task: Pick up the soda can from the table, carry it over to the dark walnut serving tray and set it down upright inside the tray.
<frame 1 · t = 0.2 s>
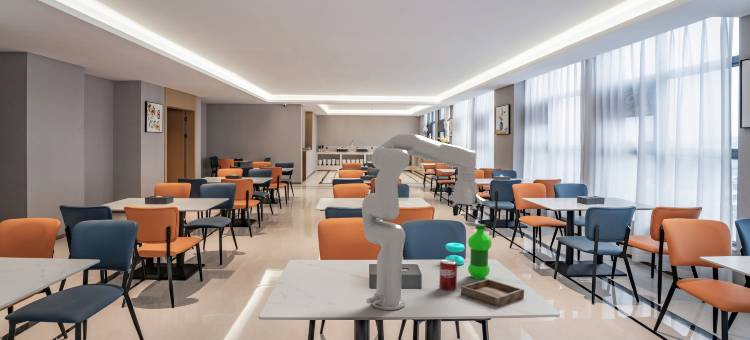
hand: (465, 216, 202), 30 cm above the table, tool pointing down, fingers open, 9 cm apart
soda can: (447, 289, 196), on the table
plastic bottle: (478, 278, 214), on the table
donuts: (454, 263, 240), on the table
walnut tray: (492, 296, 188), on the table
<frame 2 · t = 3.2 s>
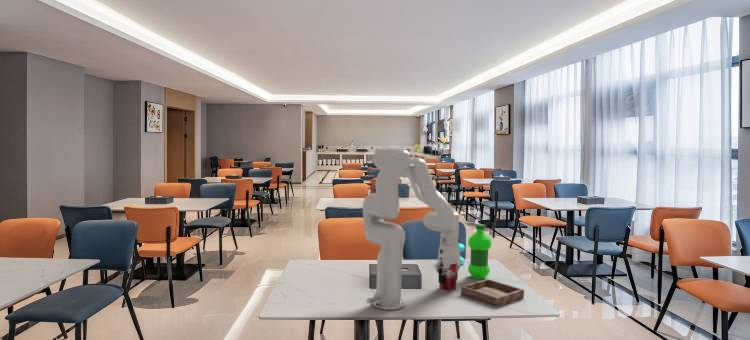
hand: (448, 281, 196), 3 cm above the table, tool pointing down, fingers closed on soda can, 7 cm apart
soda can: (447, 289, 196), on the table, touching gripper
everything else where it was.
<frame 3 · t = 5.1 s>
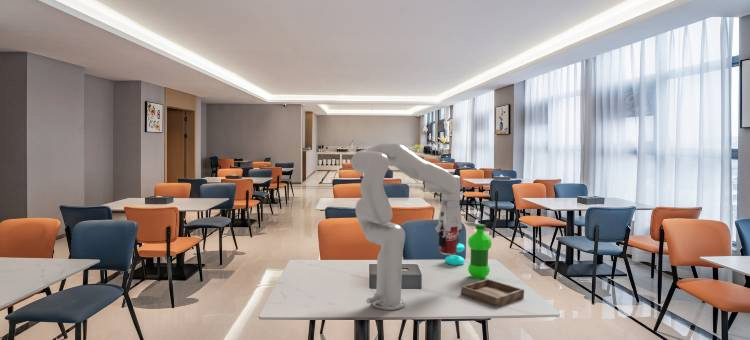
hand: (448, 245, 195), 19 cm above the table, tool pointing down, fingers closed on soda can, 7 cm apart
soda can: (447, 253, 195), point 16 cm above the table, touching gripper
everything else where it was.
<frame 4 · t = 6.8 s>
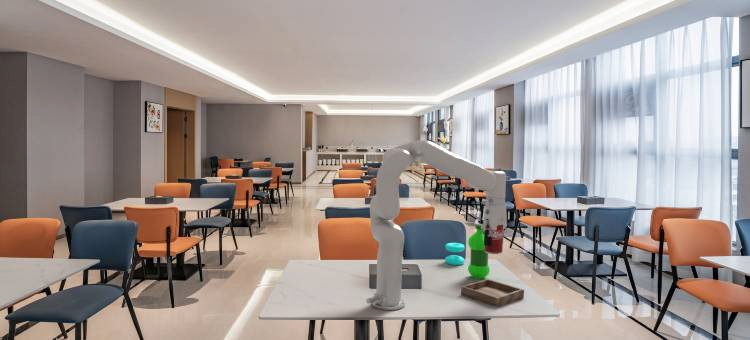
hand: (493, 244, 187), 22 cm above the table, tool pointing down, fingers closed on soda can, 7 cm apart
soda can: (493, 252, 187), point 18 cm above the table, touching gripper
everything else where it was.
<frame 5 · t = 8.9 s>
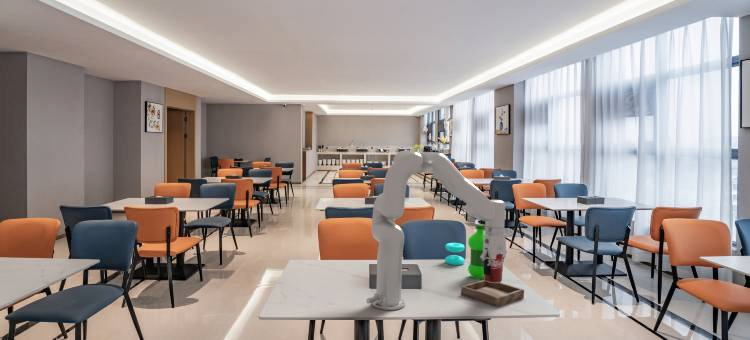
hand: (493, 272, 188), 10 cm above the table, tool pointing down, fingers closed on soda can, 7 cm apart
soda can: (492, 281, 188), point 6 cm above the table, touching gripper
everything else where it was.
when the fingers open (6 cm above the table, at t = 10.8 s): soda can drops 1 cm, resting on walnut tray.
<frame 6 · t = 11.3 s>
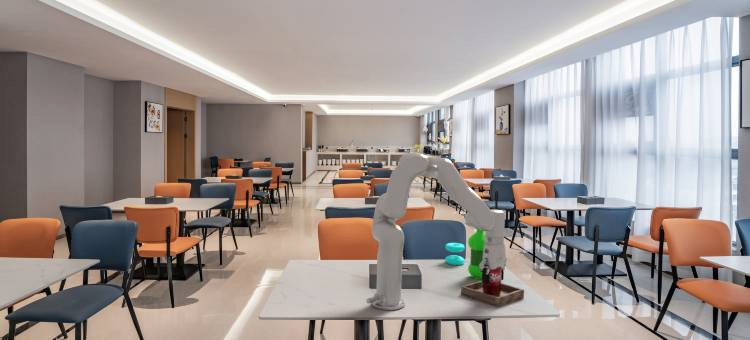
hand: (492, 281, 188), 6 cm above the table, tool pointing down, fingers open, 9 cm apart
soda can: (491, 294, 188), point 1 cm above the table, touching walnut tray
everything else where it was.
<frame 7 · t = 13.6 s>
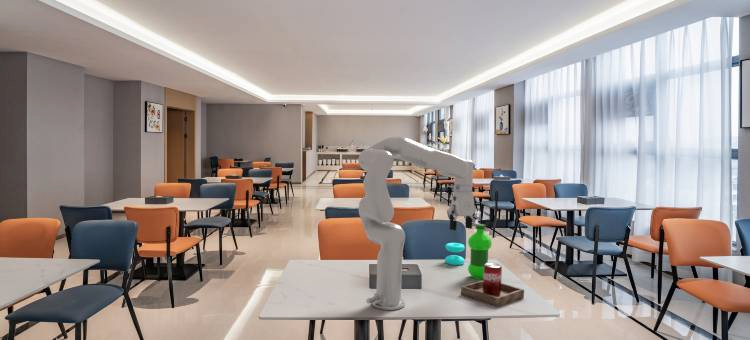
hand: (460, 229, 194), 26 cm above the table, tool pointing down, fingers open, 9 cm apart
nothing on the table moved.
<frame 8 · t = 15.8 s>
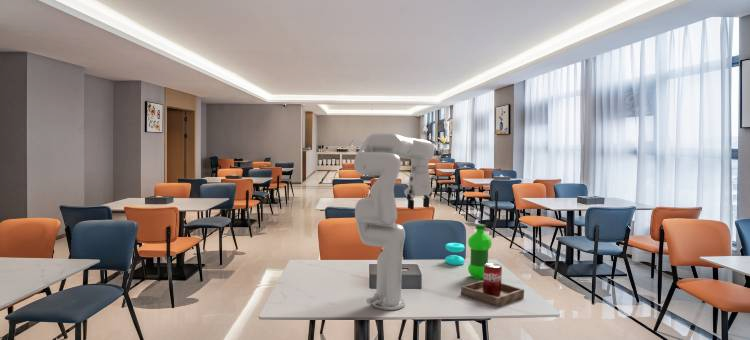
hand: (418, 208, 205), 33 cm above the table, tool pointing down, fingers open, 9 cm apart
nothing on the table moved.
at the end: soda can inside the target area on the walnut tray (0.2 cm from its centre), point 0.8 cm above the walnut tray's base; soda can tilted 0°; the gripper is holding nothing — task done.
